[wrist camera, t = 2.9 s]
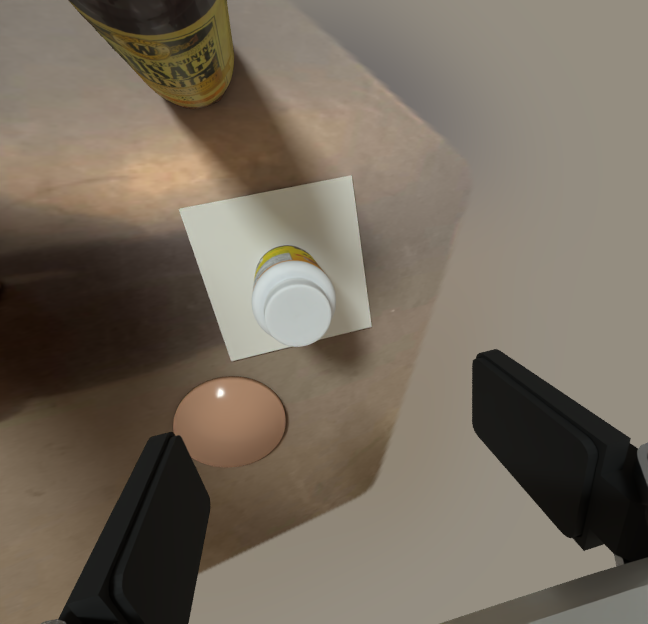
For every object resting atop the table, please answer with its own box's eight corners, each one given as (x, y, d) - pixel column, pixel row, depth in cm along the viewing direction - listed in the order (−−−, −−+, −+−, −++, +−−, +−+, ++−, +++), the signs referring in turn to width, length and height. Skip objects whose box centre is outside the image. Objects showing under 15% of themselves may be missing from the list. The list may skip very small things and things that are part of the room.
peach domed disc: (157, 392, 29) (155, 396, 29) (271, 364, 30) (271, 367, 30) (196, 474, 33) (195, 479, 33) (295, 447, 35) (295, 451, 34)
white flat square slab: (179, 208, 24) (178, 208, 24) (351, 175, 25) (351, 175, 25) (231, 360, 29) (231, 361, 29) (371, 325, 31) (371, 326, 31)
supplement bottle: (327, 289, 28) (358, 336, 19) (272, 314, 28) (275, 374, 19) (303, 232, 26) (324, 254, 17) (243, 259, 26) (231, 296, 17)
